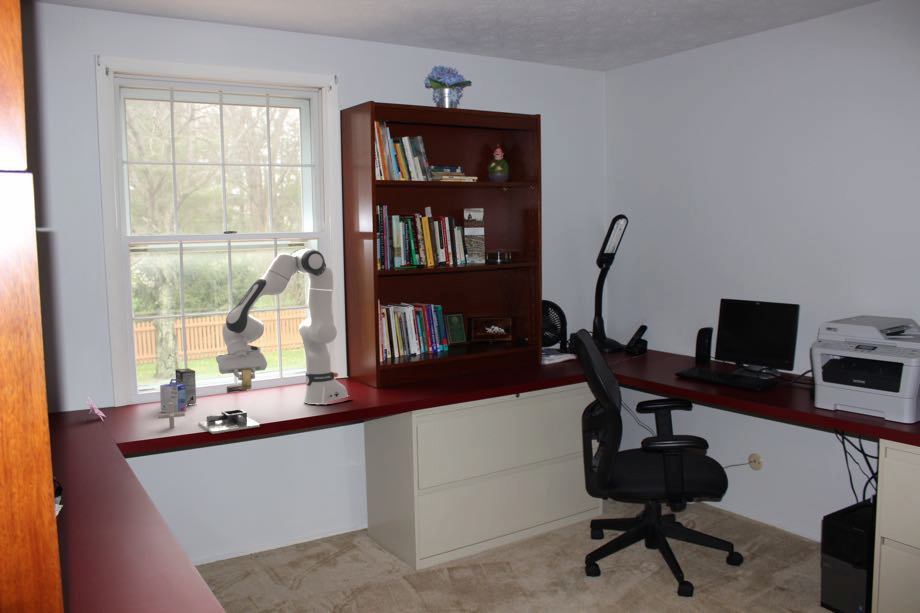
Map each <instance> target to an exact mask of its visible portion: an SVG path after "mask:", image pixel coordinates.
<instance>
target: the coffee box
mask: <svg viewBox="0 0 920 613" xmlns="http://www.w3.org/2000/svg"><path fill="white" fill-rule="evenodd" d="M174 371H175V379H178V381H177V384H184V385H185V394H186V405H189V404H195V403H196V404H197V389H196V388H197V387H196V385H197V384H196V383H197V382H196V371H195V370H194V369H191V368H178V369H175V370H174Z"/></svg>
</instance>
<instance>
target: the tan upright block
mask: <svg viewBox="0 0 920 613" xmlns="http://www.w3.org/2000/svg"><path fill="white" fill-rule="evenodd" d="M241 371H242V372H241V375H242V377H243V379H242V380H241V390H243V391H244V390H251V389H252V379H251V374H252V373H251V370H250V369H244V370H241Z"/></svg>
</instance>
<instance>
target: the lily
mask: <svg viewBox="0 0 920 613" xmlns="http://www.w3.org/2000/svg"><path fill="white" fill-rule="evenodd" d="M87 398H88V400H89V402H88V401H87V400H86V401H85V402H86V403H87V404H88V405H89V407H90V410H89V413H88V414H87V415H86V417H85V418H84V420H85V421H86V420H87V418H88V417H89V415H91V414H95V415H97V416H99V417H100V419H101V420H102V421H104V419H103V417H105V418H106V415H105V414H104V413H103V412H102V411H101V410H100V407H99V406H96V405H95V404H94V402H93V400H92V399H91V398H90V397H89V396H88V395H87Z"/></svg>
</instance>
